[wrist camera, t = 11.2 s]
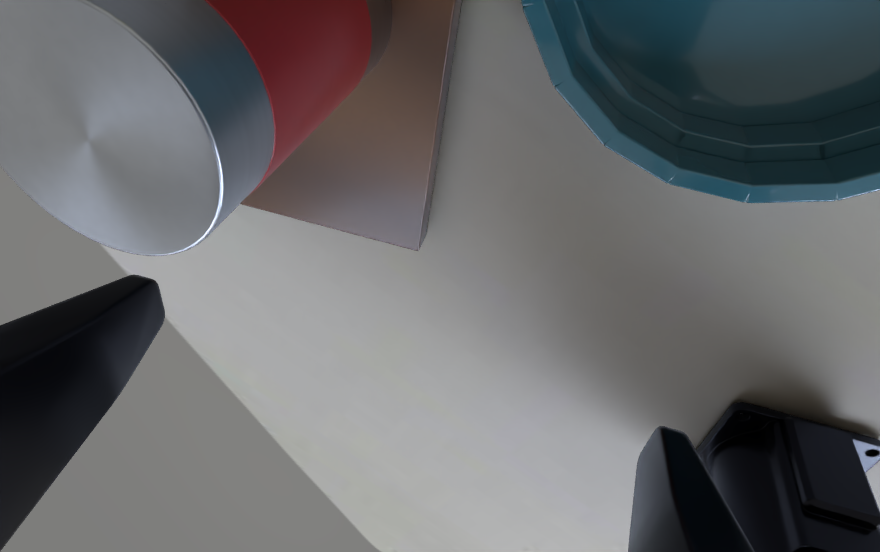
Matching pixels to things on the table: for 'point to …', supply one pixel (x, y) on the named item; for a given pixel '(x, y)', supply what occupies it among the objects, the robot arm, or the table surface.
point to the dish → (725, 90)
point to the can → (169, 104)
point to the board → (377, 138)
